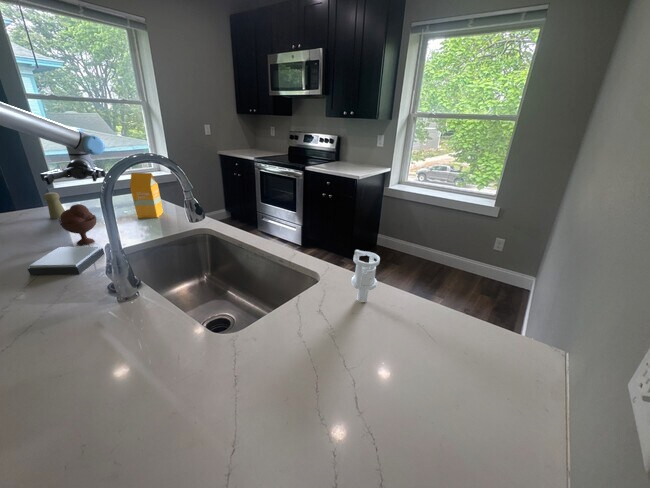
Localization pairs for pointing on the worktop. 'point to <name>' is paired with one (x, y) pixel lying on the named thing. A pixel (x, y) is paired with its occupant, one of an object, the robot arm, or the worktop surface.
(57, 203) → the cork
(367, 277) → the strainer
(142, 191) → the orange juice
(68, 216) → the ice cream bowl
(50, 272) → the scale
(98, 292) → the worktop surface
